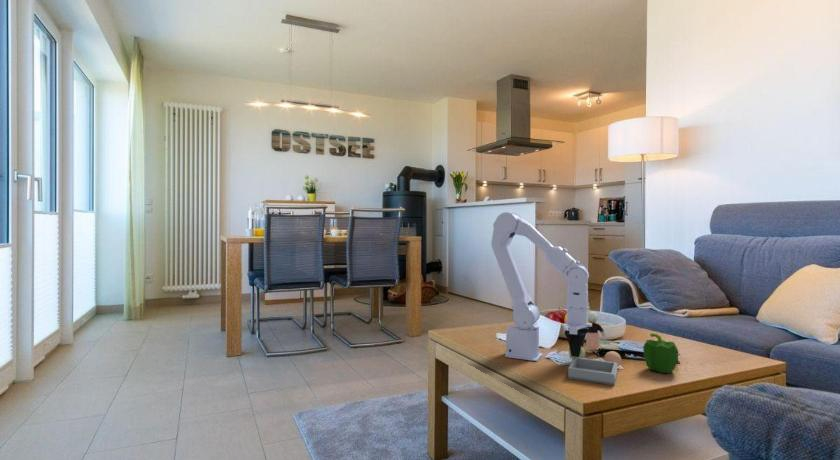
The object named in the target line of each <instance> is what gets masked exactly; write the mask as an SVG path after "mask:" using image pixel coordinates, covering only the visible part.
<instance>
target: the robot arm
mask: <svg viewBox="0 0 840 460" xmlns="http://www.w3.org/2000/svg"><path fill="white" fill-rule="evenodd" d="M492 225H493V226H492V227H493V230H492V231H493V232H492V236H491V242H490V243H491V248H492V251H493V253H494V256H495V259H496V262H497V263H498V266H499V270H500V272H501V275H502V277H503V281H504V283H505V284H506V288H507V290H508V292H509V295H510V298H511V309H512V310H513V311H512V313H513V316H512V319H513V321H514V325H508V327H507V329H506V336H505V340H506V341H505V352H506V353H505V356H504V357H505V358H510V359H517V360H518V359H519V360H527V361H533V362H537V361H538V360H539V359H540V358H541V357H542V356H543V353H542V352H540V325H539V324H538V322H537V321H538V320H539V319H540V317H541V311H540V309H539V307H538V306H537V305H536V304H535V303H534V302H533V299H532V297H531V295H530V294H529V293H528V292H527V289H526V285H525V283H524V280H523V278H522V276H521V273H520V270H519V268H518V265H517V262H516V260H515V257H514V255H513V252H512V250H511V247H510V244H511V242H512V241H513V238H514V237H515V236H516V235H517V236H520V237H521V236H522V237H525V238H526V239H528V240H529V241H530V242H531V243H533V245H535V246H536V247H537V248H538V249H540V250H541V251H542V252H543V253H544V254H545V258H546V262H548V264H550V266H552V267H553V268H554V269H555V270H556V271H557V272H559V274H561V276H565V281H566V283H567V290H566V321H565V325H566V326H567V328H568V330H567V329H566V330H564V335H565V337H566V339H567V343H568V345H569V348H570V352H571V356H574V357H579V356H580V352H581V346H582V347H583V348H584V344H585V339H586V337H587V332H588V330H589V328H588V327H591V326H592V323H590V322H589V320H588V313H589V312H588V310H589V292H588V290H589V286H588V280H589V277H590V273H589V271H588V269H587V268H586V266H584V265H583V264H580V263H581V262H580V261H579V260H578V259H577V260H576V259H574V257H572V255H570V254H569V253H568V250H569V249H568V248H566V247H564V248H562V246H555V245H553V244H552V243H550V241H549V240H548V239H547V238H546V237H545V236H543V234H542V233H541V232H539V231H538V230H537V228H535V226H533V225H532V224H531V223H530V222H529V221H527V219H524V218H522V217H521V216H520V215H519V214H518V213H514V212H507V211H505V212H502V213H500V214H498V216H497V217H496V219H495V221H494V222H493V224H492Z"/></svg>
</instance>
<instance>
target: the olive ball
mask: <svg viewBox="0 0 840 460" xmlns="http://www.w3.org/2000/svg"><path fill="white" fill-rule="evenodd" d="M585 351H586V350H585V349H584V346H583V347H582V346H581V352H580V356H579V357H577V358H585V353H586V352H585ZM568 355H569V357H570V358H571V359H572V360H573V359H574V356H571V352H570V347H569V348H568Z"/></svg>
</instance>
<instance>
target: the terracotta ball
mask: <svg viewBox="0 0 840 460" xmlns="http://www.w3.org/2000/svg"><path fill="white" fill-rule="evenodd" d="M603 361H608V362H616V363H617V368H618V367H620V366H621V363H622V357H621V355H620V354H619V353H618V352H617V351H614V350H613V351H612V350H611V351H608V352H606V354H604V358H603Z"/></svg>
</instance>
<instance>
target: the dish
mask: <svg viewBox="0 0 840 460" xmlns="http://www.w3.org/2000/svg"><path fill="white" fill-rule="evenodd" d="M567 368H568V369H567V373H568V375H567V379H568V380H575V381H580V382H587V383H593V384H599V385H608V386H615V384H616V380H617V376H618V367H617V363H616V362H608V361H605V360H601V359H600V360H598V359H591V358H585V357H583V358H577V357H574V359H572V361H571V362H570V364H569V366H568V367H567Z"/></svg>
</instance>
